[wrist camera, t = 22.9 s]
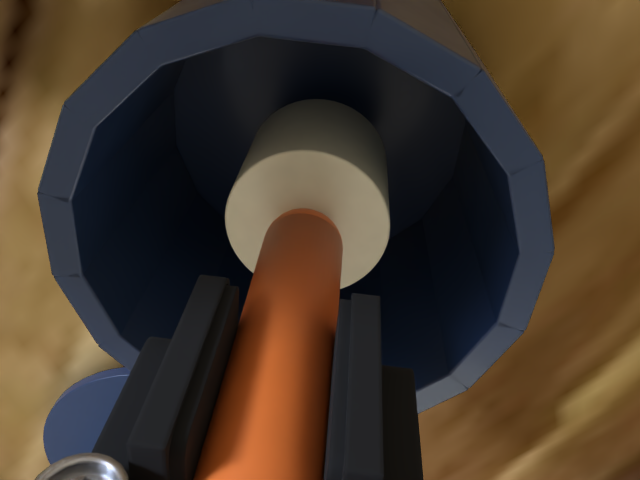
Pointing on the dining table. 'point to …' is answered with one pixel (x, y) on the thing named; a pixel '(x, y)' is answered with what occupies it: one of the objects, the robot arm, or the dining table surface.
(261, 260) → the brush
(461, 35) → the tin
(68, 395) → the tin lid
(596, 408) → the dining table surface
